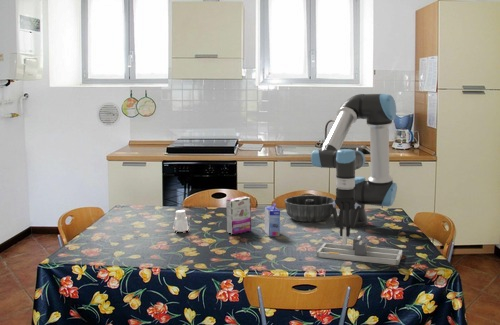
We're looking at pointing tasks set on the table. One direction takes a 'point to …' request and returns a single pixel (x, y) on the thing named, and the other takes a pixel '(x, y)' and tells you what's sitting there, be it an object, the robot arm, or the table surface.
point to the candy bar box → (238, 215)
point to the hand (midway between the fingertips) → (344, 243)
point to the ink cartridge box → (272, 221)
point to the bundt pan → (309, 207)
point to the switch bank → (349, 254)
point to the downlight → (181, 221)
